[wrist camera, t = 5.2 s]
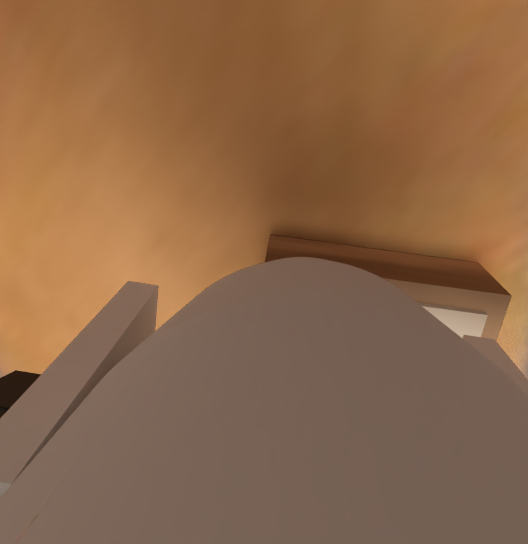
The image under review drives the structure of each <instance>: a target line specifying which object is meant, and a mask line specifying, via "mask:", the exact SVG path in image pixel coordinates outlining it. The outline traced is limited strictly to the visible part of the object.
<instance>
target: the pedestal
mask: <svg viewBox="0 0 528 544" xmlns="http://www.w3.org/2000/svg"><path fill="white" fill-rule="evenodd" d="M290 257H312V258H319V259H324V260H329V261H334V262H339V263H343V264H347V265H351V266H354V267H357V268H360V269H363V270H365V271H368V272H370V273H372V274H375V275H377V276H379V277H381V278H383V279H384V280H386V281H388V282H390V283H391V284H393V285H394V286H396V287H397V288H399V289H400V290H402V291H403V292H404V293H406V294H407V295H408V296H409V297H411V298H412V299H413V300H414V301H416V302H417V303H418V304H419V305H421V306H422V307H423V308H425V309H426V310H427V311H428V312H430V313H431V314H432V315H433V316H435V317H436V318H437V319H438V320H440V321H441V322H442V323H443V324H445V325H446V326H447V327H449V328H450V329H451V330H452V331H454V332H455V333H456V334H457V335H459V336H460V337H461V338H462V339H463V335H470V336H476V337H483V338H489V339H494V340H495V341H496V340H497V337H498V334H499V331H500V328H501V325H502V323H503V320H504V317H505V314H506V311H507V308H508V305H509V302H510V299H511V295H510V294H509V293H508V292H507V291H506V290H505V289H504V288H503V287H502V286H501V285H500V284H499V283H498V282H497V281H496V280H495V279H494V278H493V277H492V276H491V275H490V274H489V273H488V272H487V271H486V270H485V269H484V268H483V267H482V266H481V265H480V264H479V263H476V262H468V261H461V260H453V259H446V258H439V257H431V256H424V255H416V254H409V253H402V252H394V251H387V250H379V249H372V248H365V247H357V246H350V245H342V244H335V243H328V242H320V241H313V240H305V239H298V238H291V237H283V236H276V235H270V238H269V244H268V249H267V254H266V259H265V262H269V261H274V260H278V259H283V258H290Z"/></svg>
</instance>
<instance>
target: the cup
mask: <svg viewBox="0 0 528 544" xmlns="http://www.w3.org/2000/svg"><path fill="white" fill-rule="evenodd" d="M0 544H528V397H527V396H526V394H525V393H524V392H523V391H522V390H521V389H520V388H519V387H518V386H517V385H516V384H515V383H514V382H513V381H512V379H511V378H509V377H508V376H507V375H506V374H505V373H504V372H503V371H502V370H501V369H500V368H499V367H497V366H496V365H495V364H494V363H493V362H492V361H490V360H489V359H488V358H486V357H485V356H484V355H483V354H481V353H480V352H479V351H478V350H476V349H475V348H474V347H473V346H471V345H470V344H469V343H468V342H466V341H465V340H464V339H462V338H461V337H460V336H459V335H457V334H456V333H455V332H454V331H452V330H451V329H450V328H449V327H447V326H446V325H445V324H443V323H442V322H441V321H440V320H438V319H437V318H436V317H435V316H433V315H432V314H431V313H430V312H428V311H427V310H426V309H425V308H423V307H422V306H421V305H419V304H418V303H417V302H416V301H414V300H413V299H412V298H411V297H409V296H408V295H407V294H406V293H404V292H403V291H402V290H400V289H399V288H397V287H396V286H394V285H393V284H391V283H390V282H388V281H386V280H384V279H383V278H381V277H379V276H377V275H375V274H372V273H370V272H368V271H365V270H363V269H360V268H357V267H354V266H351V265H347V264H343V263H339V262H334V261H329V260H324V259H319V258H312V257H290V258H283V259H278V260H274V261H269V262H265V263H261V264H257V265H253V266H250V267H247V268H244V269H242V270H239V271H237V272H234V273H232V274H230V275H228V276H226V277H224V278H222V279H220V280H218V281H217V282H215V283H214V284H212V285H211V286H209V287H208V288H206V289H205V290H204V291H202V292H201V293H200V294H199V295H197V296H196V297H195V298H194V299H193V300H191V301H190V302H189V303H188V304H187V305H186V306H184V307H183V308H182V309H181V310H180V311H179V312H177V313H176V314H175V315H174V316H173V317H171V318H170V319H169V320H168V321H167V322H166V323H164V324H163V325H162V326H161V327H160V328H159V329H157V330H156V331H155V332H154V333H153V334H151V335H150V336H149V337H148V338H147V339H146V340H144V341H143V342H142V343H141V344H140V345H138V346H137V347H136V348H135V349H134V350H133V351H131V352H130V353H129V354H128V355H127V356H126V357H124V358H123V359H122V360H121V361H120V362H118V363H117V364H116V365H115V366H114V367H113V368H112V369H111V370H110V371H109V372H108V373H107V374H106V375H105V376H104V377H103V378H102V379H101V380H100V382H99V383H98V384H97V385H96V386H95V387H94V389H93V390H92V391H91V392H90V393H89V395H88V396H87V397H86V398H85V399H84V400H83V402H82V403H81V404H80V405H79V406H78V407H77V409H76V410H75V411H74V412H73V413H72V414H71V416H70V417H69V418H68V419H67V420H66V421H65V423H64V424H63V425H62V426H61V427H60V428H59V430H58V431H57V432H56V433H55V434H54V436H53V437H52V438H51V439H50V440H49V441H48V443H47V444H46V445H45V446H44V447H43V448H42V450H41V451H40V452H39V453H38V454H37V455H36V457H35V458H34V459H33V460H32V461H31V462H30V464H29V465H28V466H27V467H26V468H25V469H24V471H23V472H22V473H21V474H20V475H19V477H18V478H17V479H16V480H15V481H14V482H13V484H12V485H11V486H10V487H9V488H8V489H7V491H6V492H5V493H4V494H3V495H2V496H1V498H0Z"/></svg>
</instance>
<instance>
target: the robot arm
mask: <svg viewBox="0 0 528 544" xmlns="http://www.w3.org/2000/svg"><path fill="white" fill-rule="evenodd" d="M157 299H158V286H157V285H151V284H145V283H139V282H132V281H128V282H127V283H126V284H125V285H124V286H123V287H122V288H121V289H120V290H119V292H118V293H117V294H116V295H115V296H114V297H113V298H112V299H111V300H110V301H109V302H108V303H107V304H106V306H105V307H104V308H103V309H102V310H101V311H100V312H99V313H98V314H97V315H96V316H95V317H94V318H93V319H92V321H91V322H90V323H89V324H88V325H87V326H86V327H85V328H84V329H83V330H82V331H81V332H80V333H79V335H78V336H77V337H76V338H75V339H74V340H73V341H72V342H71V343H70V344H69V345H68V346H67V347H66V348H65V350H64V351H63V352H62V353H61V354H60V355H59V356H58V357H57V358H56V359H55V360H54V361H53V362H52V364H51V365H50V366H49V367H48V368H47V369H46V370H45V371H44V372H43V373H42V374H35V373H29V372H22V371H14V372H12V373H10V374H8V375H6V376H4V377H2V378H0V498H1V496H2V495H3V494H4V493H5V492H6V491H7V489H8V488H9V487H10V486H11V485H12V484H13V482H14V481H15V480H16V479H17V478H18V477H19V475H20V474H21V473H22V472H23V471H24V469H25V468H26V467H27V466H28V465H29V464H30V462H31V461H32V460H33V459H34V458H35V457H36V455H37V454H38V453H39V452H40V451H41V450H42V448H43V447H44V446H45V445H46V444H47V443H48V441H49V440H50V439H51V438H52V437H53V436H54V434H55V433H56V432H57V431H58V430H59V428H60V427H61V426H62V425H63V424H64V423H65V421H66V420H67V419H68V418H69V417H70V416H71V414H72V413H73V412H74V411H75V410H76V409H77V407H78V406H79V405H80V404H81V403H82V402H83V400H84V399H85V398H86V397H87V396H88V395H89V393H90V392H91V391H92V390H93V389H94V387H95V386H96V385H97V384H98V383H99V382H100V380H101V379H102V378H103V377H104V376H105V375H106V374H107V373H108V372H109V371H110V370H111V369H112V368H113V367H114V366H115V365H116V364H117V363H118V362H120V361H121V360H122V359H123V358H124V357H126V356H127V355H128V354H129V353H130V352H131V351H133V350H134V349H135V348H136V347H137V346H138V345H140V344H141V343H142V342H143V341H144V340H146V339H147V338H148V337H149V336H150V335H151V334H153V333H154V332H155V325H156V312H157ZM463 339H464V340H465V341H466V342H468V343H469V344H470V345H471V346H473V347H474V348H475V349H476V350H478V351H479V352H480V353H481V354H483V355H484V356H485V357H486V358H488V359H489V360H490V361H492V362H493V363H494V364H495V365H496V366H497V367H499V368H500V369H501V370H502V371H503V372H504V373H505V374H506V375H507V376H508V377H509V378H511V379H512V381H513V382H514V383H515V384H516V385H517V386H518V387H519V388H520V389H521V390H522V391H523V392H524V393H525V394H526V396H527V397H528V379H527V378H526V377H525V376H524V375H523V373H522V372H521V371H520V370H519V369H518V367H517V366H516V365H515V364H514V363H513V361H512V360H511V359H510V358H509V357H508V355H507V354H506V353H505V352H504V350H503V349H502V348H501V347H500V346H499V344H498V343H497V342H496V341H495V340H494V339H489V338H483V337H476V336H470V335H463Z"/></svg>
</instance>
